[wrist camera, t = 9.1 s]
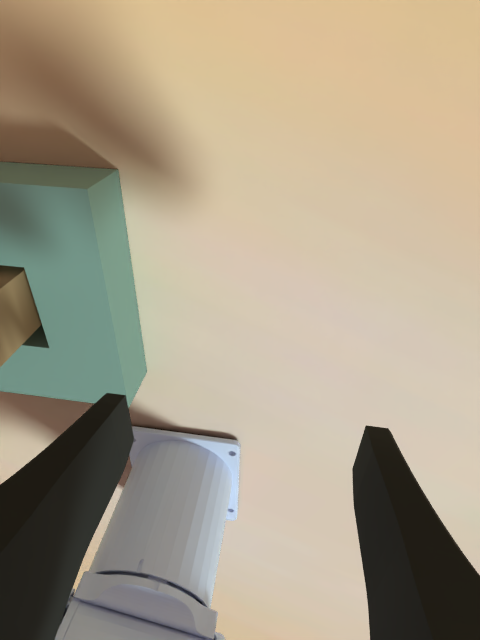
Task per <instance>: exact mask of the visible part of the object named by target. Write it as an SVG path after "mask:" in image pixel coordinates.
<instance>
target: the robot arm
mask: <svg viewBox="0 0 480 640" xmlns="http://www.w3.org/2000/svg"><path fill="white" fill-rule="evenodd" d="M129 456H130V461H131V466H132V469H131V472H130V474H129V477H128V479H127V481H126V484H125V486H124V488H123V491H122V493H121V496H120V498H119V500H118V503H117V505H116V507H115V510H114V512H113V514H112V517H111V519H110V522H109V524H108V526H107V529H106V531H105V533H104V536H103V538H102V541H101V543H100V545H99V548H98V550H97V552H96V555H95V557H94V560H93V562H92V564H91V567H90V569H89V571H85V572H84V574H83V576H82V578H81V581H80V583H79V585H78V588H77V590H76V592H75V589H73V585H74V582H75V580H76V577H77V574H78V571H79V569H80V566H81V563H82V561H83V558H84V555H85V553H86V551H87V548H88V546H89V544H90V541H91V539H92V537H93V535H94V533H95V531H96V529H97V527H98V525H99V522H100V520H101V518H102V516H103V514H104V512H105V510H106V508H107V506H108V503H109V501H110V499H111V497H112V495H113V493H114V491H115V488H116V486H117V484H118V482H119V480H120V478H121V475H122V473H123V471H124V468H125V465H126V463H127V460H128V457H129ZM239 465H240V443H239V442H238V441H236V440H232V439H224V438H217V437H209V436H202V435H195V434H187V433H180V432H172V431H165V430H158V429H150V428H143V427H135V426H132V425H131V420H130V414H129V409H128V404H127V399H126V395H120V394H112V393H106V394H105V395H104V396H102V397H101V398H100V399H99V400H98V401H97V402H96V403H95V404H94V405H93V406H92V407H91V408H90V409H89V410H88V411H86V412H85V413H84V414H83V415H82V416H81V417H80V418H79V419H78V420H77V421H76V422H75V423H74V424H73V425H71V426H70V427H69V428H68V429H67V430H66V431H65V432H64V433H63V434H61V435H60V436H59V437H58V438H57V439H56V440H55V441H54V442H52V443H51V444H50V445H49V446H48V447H47V448H46V449H44V450H43V451H42V452H41V453H40V454H38V455H37V456H36V457H35V458H34V459H32V460H31V461H30V462H29V463H28V464H26V465H25V466H24V467H23V468H21V469H20V470H19V471H18V472H16V473H15V474H14V475H13V476H11V477H10V478H9V479H7V480H6V481H5V482H3V483H2V484H1V485H0V640H225V637H224V636H223V635H222V634H220V633H218V632H215V628H216V622H217V616H218V612H217V611H214V610H212V609H210V607H211V601H212V595H213V590H214V584H215V578H216V573H217V567H218V561H219V556H220V550H221V544H222V539H223V533H224V527H225V522H226V520H230V521H233V520H236V519H237V512H238V488H239ZM353 497H354V509H355V516H356V523H357V530H358V537H359V543H360V550H361V557H362V563H363V570H364V577H365V583H366V591H367V599H368V609H369V625H370V640H480V575H479V574H478V573H477V571H476V570H475V569H474V567H473V566H472V565H471V563H470V562H469V561H468V559H467V558H466V556H465V555H464V554H463V552H462V551H461V549H460V548H459V547H458V545H457V544H456V542H455V541H454V539H453V538H452V536H451V535H450V533H449V532H448V530H447V529H446V527H445V526H444V524H443V523H442V521H441V520H440V518H439V517H438V515H437V514H436V512H435V510H434V509H433V507H432V506H431V504H430V502H429V501H428V499H427V497H426V496H425V494H424V492H423V491H422V489H421V487H420V486H419V484H418V482H417V481H416V479H415V477H414V475H413V474H412V472H411V470H410V468H409V466H408V464H407V463H406V461H405V459H404V457H403V455H402V453H401V451H400V449H399V448H398V446H397V444H396V442H395V440H394V438H393V436H392V434H391V432H390V430H389V429H388V428H380V427H373V426H366V427H365V430H364V434H363V437H362V440H361V443H360V447H359V450H358V453H357V456H356V459H355V463H354V466H353ZM74 592H75V594H74ZM73 596H74V597H73Z"/></svg>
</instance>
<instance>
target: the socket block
mask: <svg viewBox="0 0 480 640" xmlns="http://www.w3.org/2000/svg"><path fill="white" fill-rule="evenodd" d="M0 265H4V266H15V267H24V269H25V272H26V275H27V278H28V281H29V285H30V288H31V291H32V294H33V297H34V300H35V304H36V307H37V310H38V313H39V316H40V319H41V323H42V325H41V326H40V327H39V328H38V329H37V330H36V331H35V332H34V333H33V334H32V335H31V336H30V337H29V338H28V339H27V340H26V341H25V342H24V343H23V344H22V345H21V346H20V347H19V348H18V349H17V350H16V351H15V353H14V354H13V355H12V356H11V357H10V358H9V359H8V360H7V361H6V362H5V363H4V364H3V365H2V366H1V367H0V391H3V392H11V393H18V394H26V395H34V396H41V397H49V398H57V399H64V400H72V401H80V402H87V403H96V402H97V401H98V400H99V399H100V398H101V397H102V396H104V395H105V394H106V393H112V394H120V395H126V399H127V404H128V408H129V407H130V405H131V403H132V401H133V399H134V397H135V395H136V393H137V391H138V389H139V387H140V385H141V383H142V381H143V379H144V377H145V375H146V373H147V369H146V362H145V355H144V348H143V341H142V334H141V327H140V320H139V313H138V306H137V299H136V292H135V285H134V278H133V271H132V263H131V256H130V249H129V242H128V235H127V228H126V221H125V214H124V207H123V200H122V193H121V186H120V179H119V172H118V169H104V168H89V167H74V166H59V165H44V164H29V163H14V162H0Z"/></svg>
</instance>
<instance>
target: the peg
mask: <svg viewBox="0 0 480 640" xmlns="http://www.w3.org/2000/svg"><path fill="white" fill-rule="evenodd" d="M41 325H42V323H41V319H40V316H39V313H38V310H37V307H36V304H35V300H34V297H33V294H32V291H31V288H30V285H29V281H28V278H27V275H26V272H25V269H24V267H15V266H4V265H0V367H1V366H2V365H3V364H4V363H5V362H6V361H7V360H8V359H9V358H10V357H11V356H12V355H13V354H14V353H15V351H16V350H17V349H18V348H19V347H20V346H21V345H22V344H23V343H24V342H25V341H26V340H27V339H28V338H29V337H30V336H31V335H32V334H33V333H34V332H35V331H36V330H37V329H38V328H39V327H40V326H41Z"/></svg>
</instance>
